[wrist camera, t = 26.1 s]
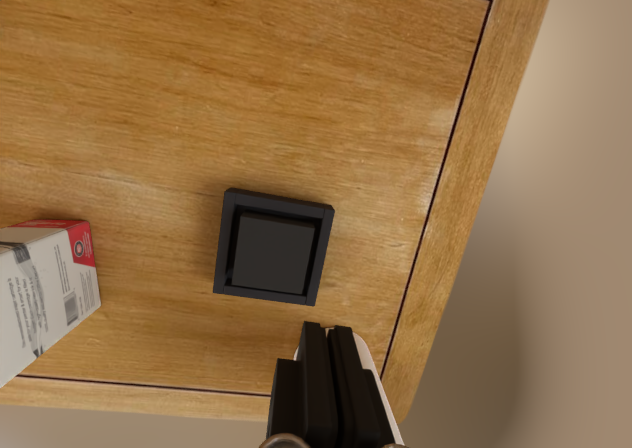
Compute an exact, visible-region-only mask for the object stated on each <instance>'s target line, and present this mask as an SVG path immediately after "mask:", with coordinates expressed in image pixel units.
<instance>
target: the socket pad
mask: <svg viewBox="0 0 632 448" xmlns="http://www.w3.org/2000/svg"><path fill="white" fill-rule="evenodd" d="M245 210H252V211H258V212H263V213H269V214H275V215H281V216H287V217H293V218H299V219H305V220H311V221H313V224H314V228H315V230H314V235H313V240H312V245H311V250H310V255H309V260H308V265H307V270H306V275H305V280H304V285H303V290H302V294H297V293H289V292H282V291H275V290H268V289H260V288H253V287H246V286H239V285H232V277H233V269H234V262H235V254H236V247H237V240H238V232H239V225H240V217H241V215H242V214H243V213H244V211H245ZM334 213H335V210H334V209H333V207H332V206H331V205H327V204H321V203H316V202H310V201H304V200H299V199H293V198H287V197H282V196H276V195H271V194H265V193H259V192H254V191H248V190H242V189H237V188H229V189H228V190H226V191H225V193H224V201H223V210H222V218H221V227H220V235H219V244H218V252H217V260H216V269H215V277H214V286H213V293H217V294H225V295H233V296H240V297H248V298H255V299H263V300H270V301H278V302H285V303H292V304H300V305H307V306H315V302H316V297H317V293H318V288H319V283H320V279H321V274H322V269H323V264H324V260H325V255H326V250H327V246H328V241H329V236H330V231H331V227H332V222H333V217H334Z"/></svg>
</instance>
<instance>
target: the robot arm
mask: <svg viewBox="0 0 632 448" xmlns="http://www.w3.org/2000/svg"><path fill="white" fill-rule="evenodd" d="M259 448H409V447H406V446H404V445H401V444H396V442H395V439H394V435H393V432H392V429H391V426H390V423H389V420H388V417H387V414H386V411H385V408H384V405H383V401H382V398H381V395H380V392H379V389H378V386H377V383H376V380H375V377H374V374H373V372H372V371H371V370H370V369H363V367H362V364H361V360H360V357H359V353H358V350H357V346H356V343H355V339H354V336H353V332H352V329H351V327H345V326H337V325H335V327H334V329H329V330H328V334H327V337H326V330H325V328H320V323H315V322H308V321H304V323H303V328H302V333H301V338H300V343H299V348H298V353H297V357H296V360H288V359H280V358H278V359H277V363H276V369H275V374H274V380H273V386H272V392H271V400H270V408H269V417H268V426H267V435H266V440H265V441H264V442H263V443H262V444H261V445H260V446H259Z"/></svg>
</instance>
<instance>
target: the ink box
mask: <svg viewBox="0 0 632 448" xmlns="http://www.w3.org/2000/svg"><path fill="white" fill-rule="evenodd" d="M100 306H101V301H100V295H99V288H98V281H97V275H96V267H95V261H94V253H93V246H92V238H91V232H90V226H89V222H87V221H75V220H47V219H44V220H40V219H39V220H30V221H26V222H23V223H19V224H16V225H12V226H8V227H5V228H1V229H0V388H1V387H2V386H4V385H5V384H6V383H7V382H9V381H10V380H11V379H12V378H13V377H15V376H16V375H17V374H18V373H20V372H21V371H22V370H23V369H24V368H26V367H27V366H28V365H29V364H31V363H32V362H33V361H34V360H35V359H36V358H38V357H39V356H40V355H41V354H43V353H44V352H45V351H46V350H48V349H49V348H50V347H51V346H53V345H54V344H55V343H56V342H58V341H59V340H60V339H61V338H62V337H64V336H65V335H66V334H67V333H69V332H70V331H71V330H72V329H73V328H75V327H76V326H77V325H78V324H80V323H81V322H82V321H83V320H84V319H86V318H87V317H88V316H89V315H91V314H92V313H93V312H94V311H95V310H97V309H98V308H99V307H100Z"/></svg>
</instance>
